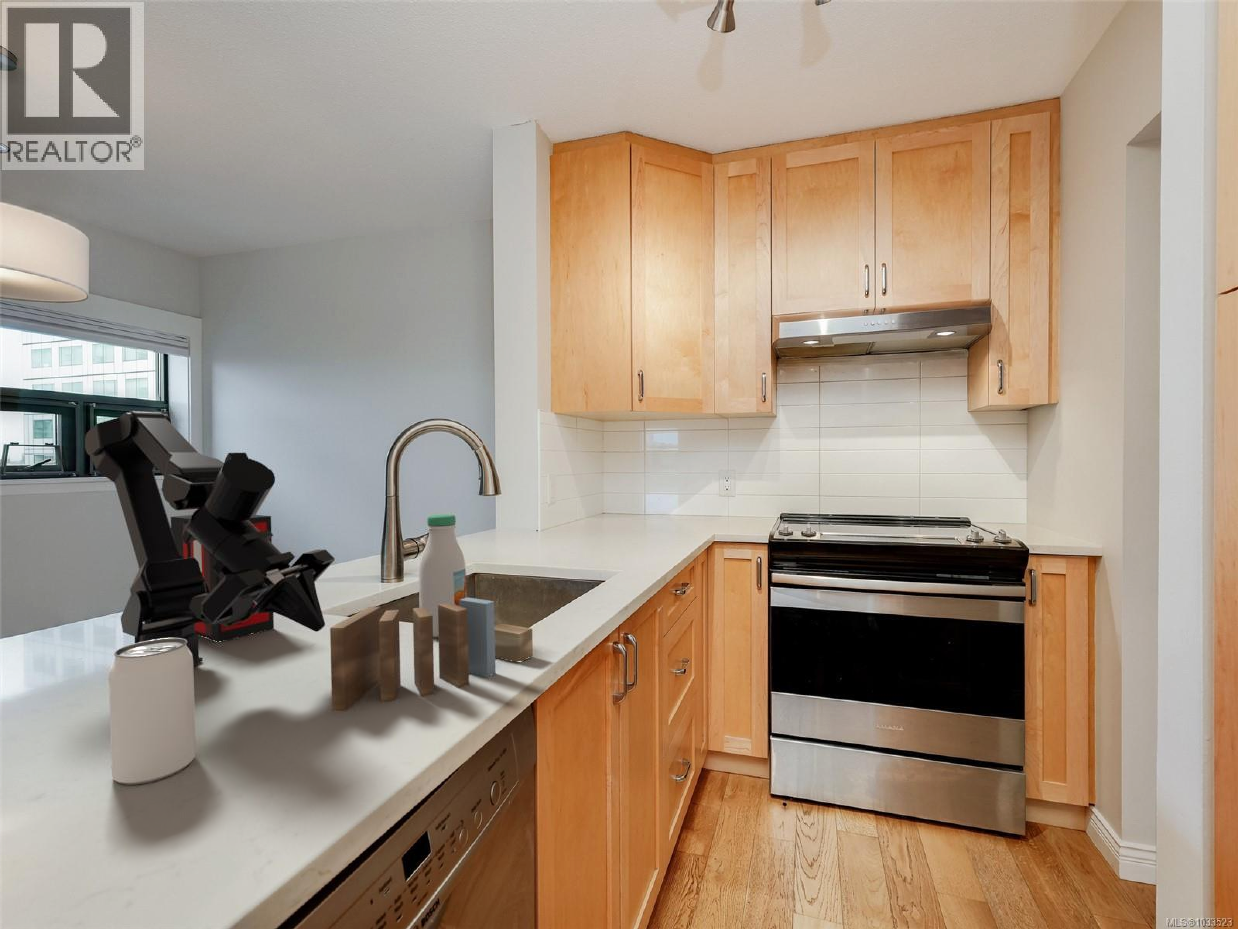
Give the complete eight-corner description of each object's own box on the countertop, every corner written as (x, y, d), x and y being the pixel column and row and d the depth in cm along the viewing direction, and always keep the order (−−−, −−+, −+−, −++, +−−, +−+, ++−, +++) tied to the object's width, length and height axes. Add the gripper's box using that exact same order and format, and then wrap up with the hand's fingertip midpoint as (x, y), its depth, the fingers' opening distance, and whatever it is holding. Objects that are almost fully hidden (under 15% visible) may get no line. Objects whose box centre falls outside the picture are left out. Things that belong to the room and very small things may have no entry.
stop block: (519, 663, 86) (519, 634, 86) (488, 656, 89) (487, 628, 89) (532, 656, 88) (532, 628, 88) (501, 650, 91) (501, 623, 91)
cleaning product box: (173, 628, 106) (170, 516, 106) (228, 616, 114) (225, 512, 113) (218, 642, 97) (214, 521, 97) (273, 628, 105) (270, 516, 105)
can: (143, 753, 61) (140, 637, 61) (210, 750, 62) (207, 635, 61) (93, 789, 55) (89, 659, 54) (168, 785, 55) (164, 656, 55)
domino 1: (332, 711, 71) (330, 627, 70) (370, 680, 80) (369, 606, 80) (345, 711, 70) (343, 627, 70) (382, 680, 80) (380, 606, 80)
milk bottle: (441, 641, 96) (439, 518, 96) (410, 634, 100) (407, 516, 100) (476, 629, 103) (474, 514, 102) (445, 623, 107) (443, 512, 107)
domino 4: (458, 688, 77) (456, 611, 77) (439, 677, 81) (437, 604, 80) (468, 684, 78) (467, 609, 78) (450, 674, 82) (448, 602, 82)
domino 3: (421, 696, 74) (419, 617, 74) (414, 683, 79) (412, 608, 79) (434, 694, 75) (432, 615, 75) (426, 681, 80) (425, 606, 79)
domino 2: (380, 701, 73) (379, 621, 73) (387, 686, 78) (386, 610, 78) (394, 700, 73) (392, 620, 73) (400, 685, 78) (398, 609, 78)
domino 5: (487, 677, 81) (486, 604, 80) (460, 671, 83) (459, 599, 83) (495, 673, 82) (494, 601, 82) (468, 667, 84) (467, 597, 84)
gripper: (245, 572, 86) (321, 649, 85) (129, 605, 67) (225, 703, 66) (296, 517, 85) (373, 594, 84) (193, 535, 66) (291, 633, 66)
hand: (321, 628), depth 75 cm, fingers closed
